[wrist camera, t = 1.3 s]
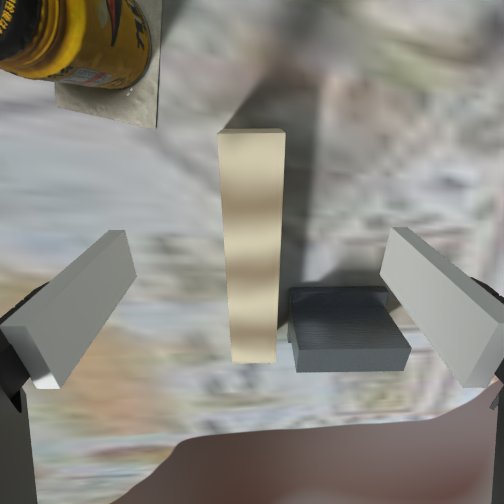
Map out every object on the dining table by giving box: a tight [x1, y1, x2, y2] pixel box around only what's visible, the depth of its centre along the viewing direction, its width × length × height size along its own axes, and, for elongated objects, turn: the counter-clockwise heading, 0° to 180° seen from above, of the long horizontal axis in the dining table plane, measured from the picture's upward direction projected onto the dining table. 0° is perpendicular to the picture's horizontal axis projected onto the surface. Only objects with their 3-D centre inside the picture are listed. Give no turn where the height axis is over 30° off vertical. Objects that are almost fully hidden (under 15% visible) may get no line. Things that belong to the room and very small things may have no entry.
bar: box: [217, 128, 286, 363], centre depth 25 cm, size 22×4×4 cm, turn 1°
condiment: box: [0, 0, 162, 130], centre depth 14 cm, size 7×8×12 cm
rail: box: [287, 287, 412, 372], centre depth 28 cm, size 10×7×6 cm
